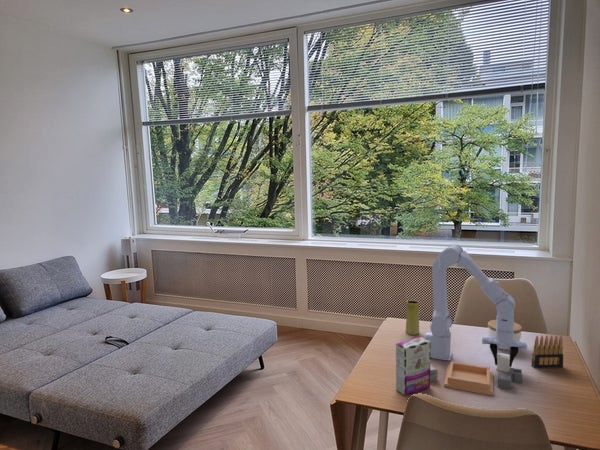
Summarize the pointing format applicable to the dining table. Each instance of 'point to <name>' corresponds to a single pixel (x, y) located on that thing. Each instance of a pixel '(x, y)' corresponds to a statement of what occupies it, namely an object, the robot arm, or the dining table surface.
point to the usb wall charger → (433, 373)
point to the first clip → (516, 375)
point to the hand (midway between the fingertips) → (502, 365)
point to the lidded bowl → (493, 332)
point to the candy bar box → (413, 365)
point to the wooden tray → (469, 378)
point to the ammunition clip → (548, 353)
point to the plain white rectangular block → (503, 362)
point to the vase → (412, 317)
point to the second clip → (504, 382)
